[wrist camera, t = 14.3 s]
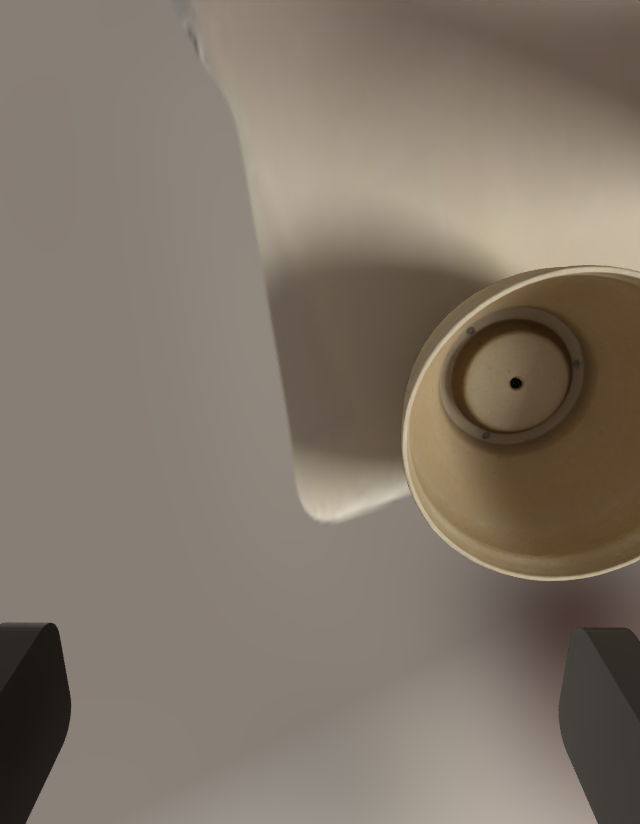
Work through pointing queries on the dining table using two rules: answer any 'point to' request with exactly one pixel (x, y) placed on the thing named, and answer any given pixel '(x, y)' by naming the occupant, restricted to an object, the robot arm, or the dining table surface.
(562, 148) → the dining table surface
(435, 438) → the planter bowl
